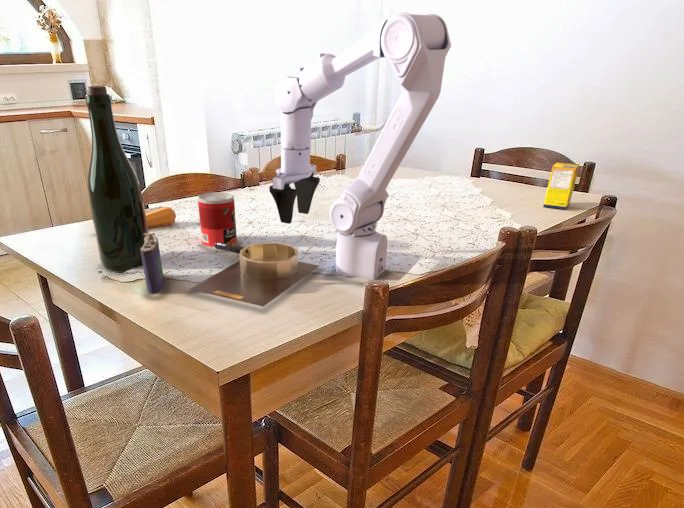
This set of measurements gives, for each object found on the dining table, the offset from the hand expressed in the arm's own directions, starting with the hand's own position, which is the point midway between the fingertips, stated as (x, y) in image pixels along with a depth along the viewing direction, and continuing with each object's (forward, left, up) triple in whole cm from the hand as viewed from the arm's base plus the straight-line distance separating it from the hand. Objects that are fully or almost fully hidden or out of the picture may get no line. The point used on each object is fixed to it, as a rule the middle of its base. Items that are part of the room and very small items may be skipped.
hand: (295, 217), depth 110 cm
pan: (+4, +11, -7) cm, 14 cm away
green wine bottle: (+29, +20, -9) cm, 36 cm away
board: (0, +15, -9) cm, 18 cm away
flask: (+15, +27, -9) cm, 32 cm away
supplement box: (-45, -70, -9) cm, 83 cm away
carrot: (+45, 0, -9) cm, 46 cm away
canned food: (+19, +1, -9) cm, 21 cm away
